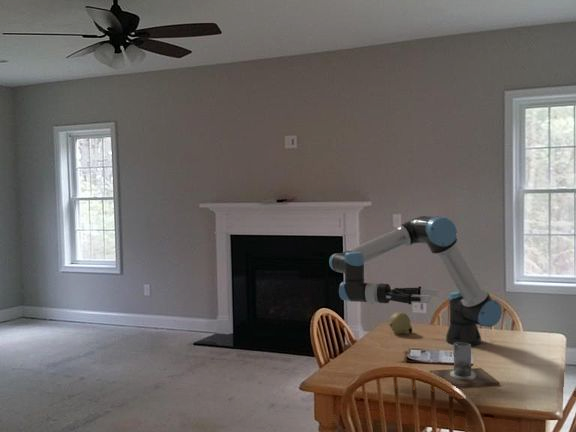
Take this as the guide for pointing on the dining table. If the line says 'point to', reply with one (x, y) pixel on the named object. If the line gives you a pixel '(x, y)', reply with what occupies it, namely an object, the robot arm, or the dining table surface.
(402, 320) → the olive green rounded lump
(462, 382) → the brown flat slab
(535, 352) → the dining table surface
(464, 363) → the grey metallic can
